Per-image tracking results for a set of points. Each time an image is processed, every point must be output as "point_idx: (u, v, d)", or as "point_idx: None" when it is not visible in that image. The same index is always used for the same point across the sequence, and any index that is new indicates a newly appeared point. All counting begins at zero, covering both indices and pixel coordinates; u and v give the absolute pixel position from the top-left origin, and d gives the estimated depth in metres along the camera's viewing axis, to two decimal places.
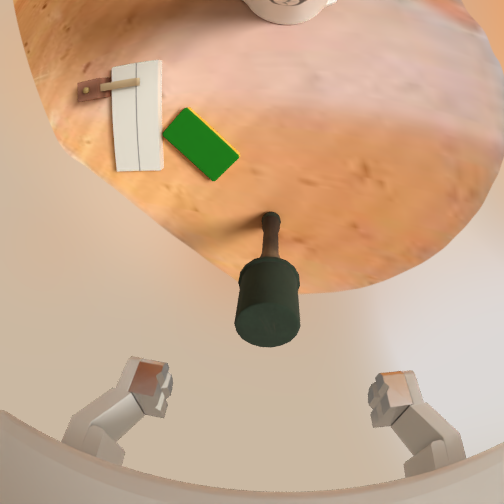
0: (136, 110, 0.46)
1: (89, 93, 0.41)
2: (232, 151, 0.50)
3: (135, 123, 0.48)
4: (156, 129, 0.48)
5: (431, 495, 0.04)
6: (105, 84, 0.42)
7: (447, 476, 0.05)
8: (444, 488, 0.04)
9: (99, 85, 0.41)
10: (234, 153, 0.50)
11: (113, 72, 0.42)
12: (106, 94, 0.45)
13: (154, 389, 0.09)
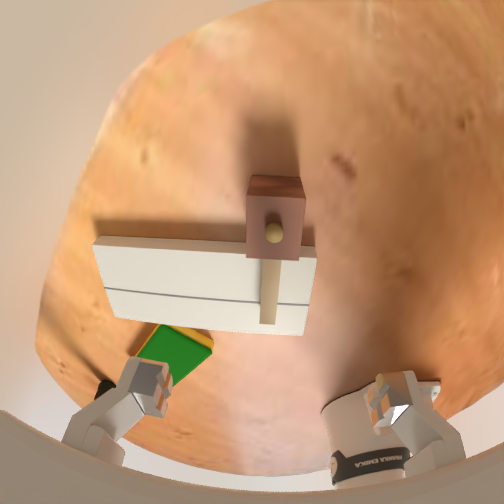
0: (210, 299, 0.28)
1: (263, 235, 0.21)
2: None
3: (185, 294, 0.28)
4: (176, 323, 0.31)
5: (431, 495, 0.04)
6: (277, 265, 0.23)
7: (447, 476, 0.05)
8: (444, 488, 0.04)
9: None
10: None
11: (303, 261, 0.25)
12: None
13: (154, 389, 0.09)
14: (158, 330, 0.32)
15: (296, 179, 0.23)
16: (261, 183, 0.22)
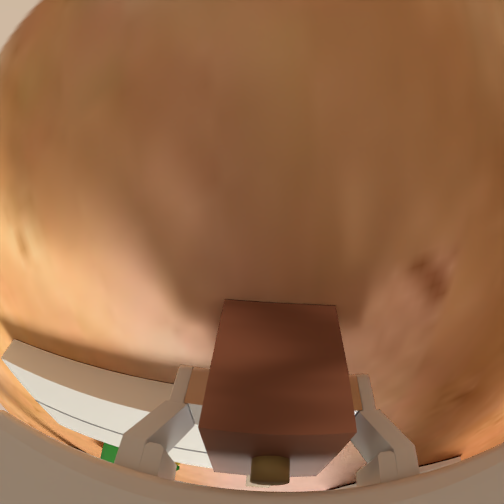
0: None
1: (246, 464, 0.08)
2: None
3: None
4: None
5: (431, 495, 0.04)
6: None
7: (447, 476, 0.05)
8: (444, 488, 0.04)
9: None
10: None
11: None
12: None
13: None
14: (105, 444, 0.19)
15: (327, 317, 0.10)
16: (243, 348, 0.08)
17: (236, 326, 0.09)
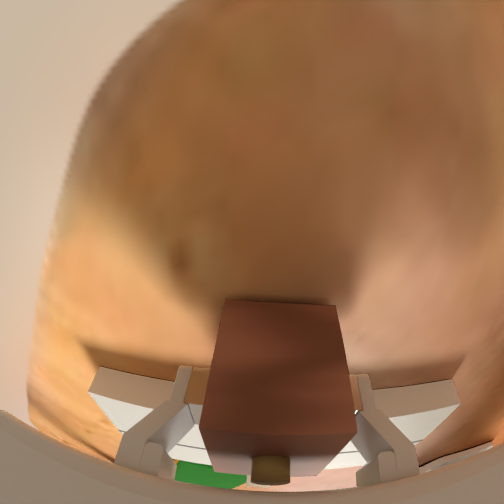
0: None
1: (246, 464, 0.08)
2: None
3: None
4: None
5: (431, 495, 0.04)
6: None
7: (447, 476, 0.05)
8: (444, 488, 0.04)
9: None
10: None
11: (444, 409, 0.12)
12: None
13: None
14: (181, 462, 0.19)
15: (327, 317, 0.10)
16: (243, 348, 0.08)
17: (236, 326, 0.09)
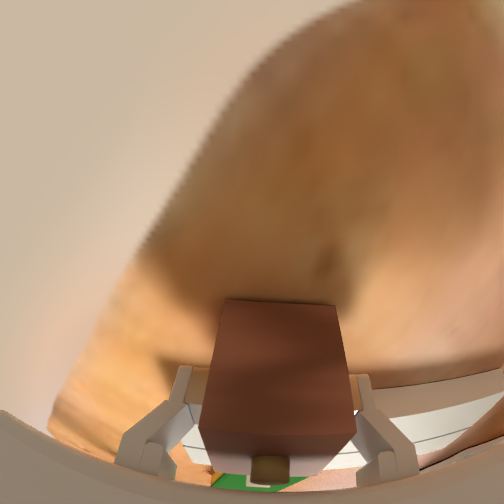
0: None
1: (246, 464, 0.08)
2: None
3: None
4: None
5: (431, 495, 0.04)
6: None
7: (447, 476, 0.05)
8: (444, 488, 0.04)
9: None
10: None
11: (497, 395, 0.12)
12: None
13: None
14: None
15: (327, 317, 0.10)
16: (243, 348, 0.08)
17: (236, 326, 0.09)
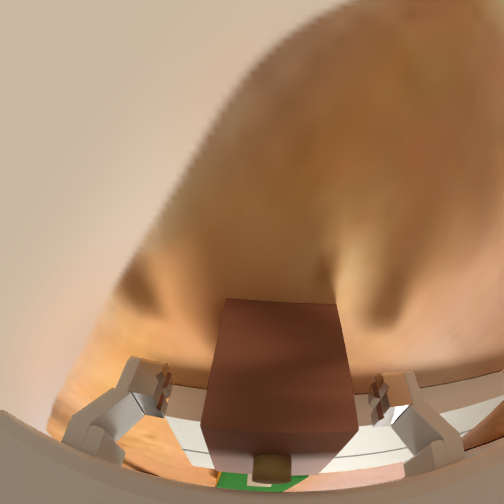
0: (366, 454, 0.14)
1: (247, 462, 0.08)
2: None
3: None
4: None
5: (431, 495, 0.04)
6: None
7: (447, 476, 0.05)
8: (444, 488, 0.04)
9: None
10: None
11: (499, 398, 0.11)
12: None
13: (154, 389, 0.09)
14: (224, 473, 0.18)
15: (328, 316, 0.10)
16: (245, 346, 0.08)
17: (237, 324, 0.09)
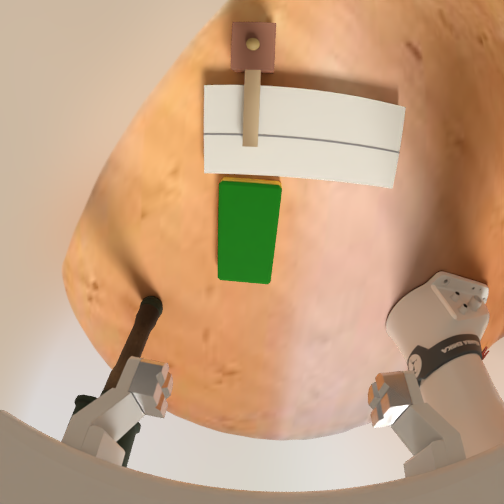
0: (318, 140, 0.29)
1: (244, 49, 0.22)
2: (269, 274, 0.38)
3: (295, 135, 0.28)
4: (277, 172, 0.31)
5: (431, 495, 0.04)
6: (257, 81, 0.24)
7: (447, 476, 0.05)
8: (444, 488, 0.04)
9: (257, 69, 0.23)
10: (269, 277, 0.38)
11: (396, 108, 0.26)
12: (239, 71, 0.25)
13: (154, 389, 0.09)
14: (220, 191, 0.32)
15: None
16: None
17: None
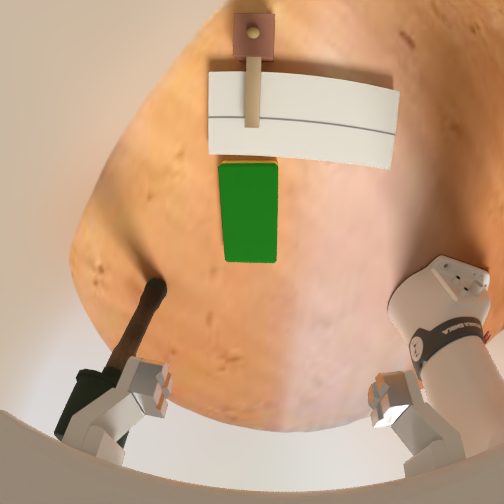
0: (316, 122, 0.30)
1: (246, 38, 0.23)
2: (274, 252, 0.39)
3: (294, 117, 0.29)
4: (278, 153, 0.32)
5: (431, 495, 0.04)
6: (258, 67, 0.25)
7: (447, 476, 0.05)
8: (444, 488, 0.04)
9: (258, 56, 0.24)
10: (274, 256, 0.39)
11: (390, 92, 0.26)
12: (241, 59, 0.27)
13: (154, 389, 0.09)
14: (219, 173, 0.34)
15: None
16: None
17: None
